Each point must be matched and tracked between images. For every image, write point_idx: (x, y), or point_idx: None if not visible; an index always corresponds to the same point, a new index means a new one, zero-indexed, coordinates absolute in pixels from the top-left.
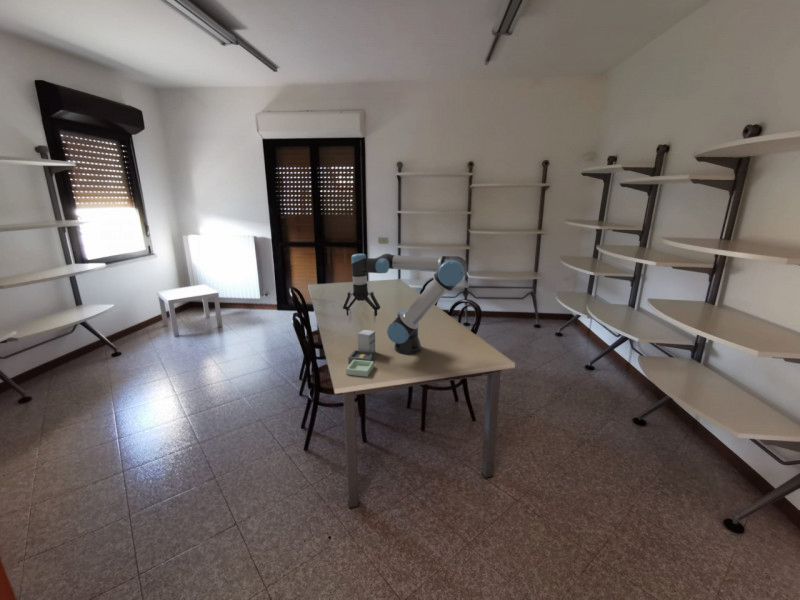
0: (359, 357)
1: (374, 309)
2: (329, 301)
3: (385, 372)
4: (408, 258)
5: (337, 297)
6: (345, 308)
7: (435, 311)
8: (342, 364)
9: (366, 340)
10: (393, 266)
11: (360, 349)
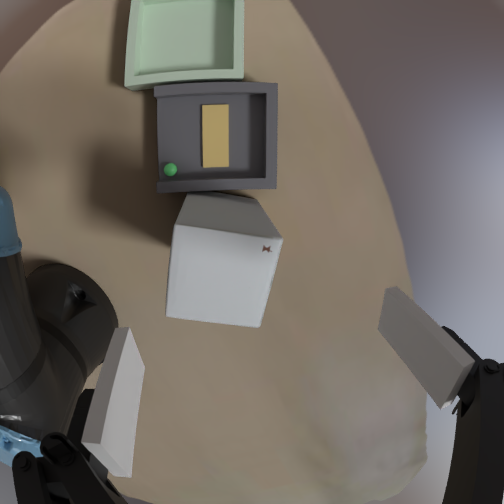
0: (223, 123)
1: (74, 460)
2: (405, 465)
3: (73, 64)
4: None
5: (389, 480)
6: (502, 370)
7: (148, 499)
8: (296, 78)
9: (200, 212)
10: None
11: (245, 202)
